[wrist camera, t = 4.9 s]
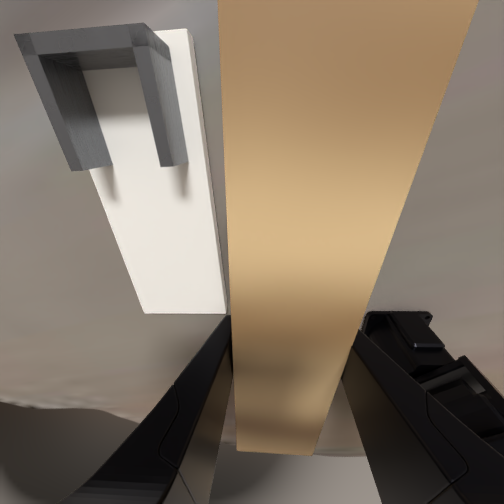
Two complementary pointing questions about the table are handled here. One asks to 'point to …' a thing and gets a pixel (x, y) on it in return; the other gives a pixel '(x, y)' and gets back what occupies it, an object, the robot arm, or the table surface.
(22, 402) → the table surface
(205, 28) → the table surface
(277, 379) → the oak rail
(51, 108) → the bracket plate
